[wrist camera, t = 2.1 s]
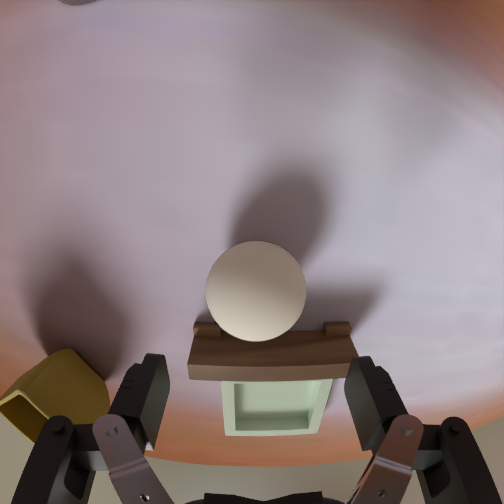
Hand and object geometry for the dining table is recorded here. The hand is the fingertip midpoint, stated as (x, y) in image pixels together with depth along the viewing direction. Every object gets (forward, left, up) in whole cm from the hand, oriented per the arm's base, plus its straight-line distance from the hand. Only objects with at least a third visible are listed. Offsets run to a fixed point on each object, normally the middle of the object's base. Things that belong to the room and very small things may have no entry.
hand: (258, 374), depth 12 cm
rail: (+6, +1, -10) cm, 11 cm away
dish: (+12, +2, -10) cm, 16 cm away
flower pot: (+12, -18, -10) cm, 24 cm away
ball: (0, 0, -10) cm, 10 cm away
